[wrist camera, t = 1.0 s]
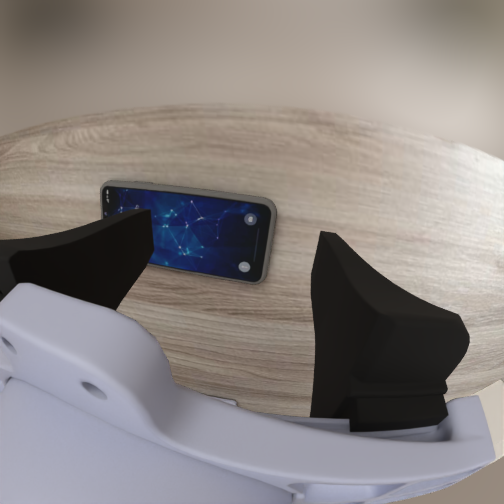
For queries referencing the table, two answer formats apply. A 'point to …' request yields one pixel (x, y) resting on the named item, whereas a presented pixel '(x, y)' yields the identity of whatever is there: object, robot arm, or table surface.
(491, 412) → the block
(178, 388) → the robot arm
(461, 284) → the table surface
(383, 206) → the table surface
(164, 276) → the table surface
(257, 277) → the smartphone
